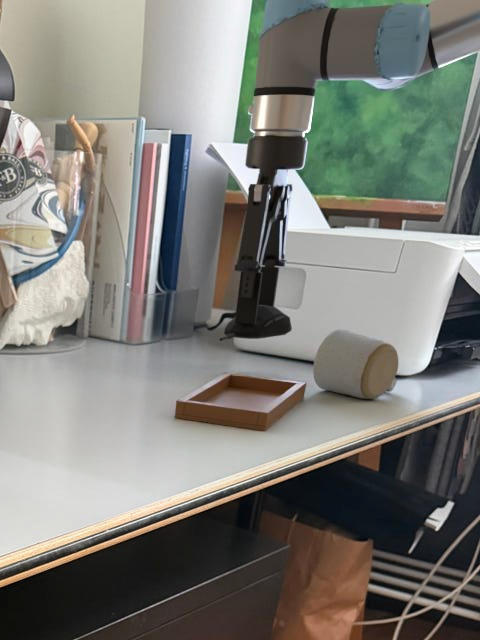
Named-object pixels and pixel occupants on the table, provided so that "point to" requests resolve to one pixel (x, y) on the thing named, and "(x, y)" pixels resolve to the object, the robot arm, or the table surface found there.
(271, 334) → the gaming mouse
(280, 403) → the wooden tray
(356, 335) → the ceramic mug
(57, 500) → the table surface
